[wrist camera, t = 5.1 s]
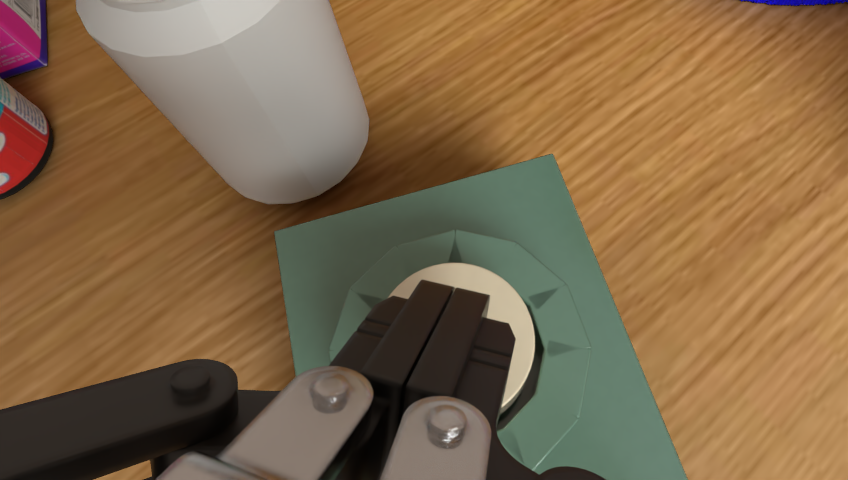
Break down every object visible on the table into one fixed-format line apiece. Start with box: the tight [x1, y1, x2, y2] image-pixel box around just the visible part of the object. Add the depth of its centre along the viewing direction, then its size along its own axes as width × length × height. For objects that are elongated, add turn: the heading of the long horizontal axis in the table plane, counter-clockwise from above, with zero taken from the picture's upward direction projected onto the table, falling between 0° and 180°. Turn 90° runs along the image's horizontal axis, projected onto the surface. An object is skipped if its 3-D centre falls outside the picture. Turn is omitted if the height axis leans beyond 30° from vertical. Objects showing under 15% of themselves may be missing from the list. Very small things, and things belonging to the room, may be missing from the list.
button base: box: [274, 154, 688, 480], centre depth 18 cm, size 12×10×7 cm
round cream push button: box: [388, 263, 535, 414], centre depth 14 cm, size 4×4×2 cm
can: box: [76, 0, 369, 204], centre depth 21 cm, size 8×8×12 cm
